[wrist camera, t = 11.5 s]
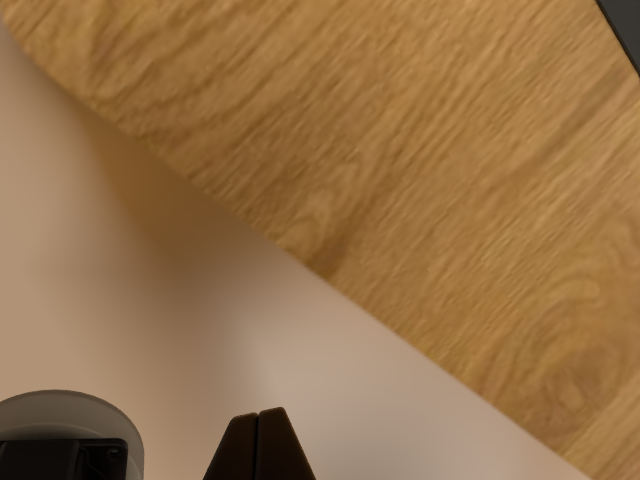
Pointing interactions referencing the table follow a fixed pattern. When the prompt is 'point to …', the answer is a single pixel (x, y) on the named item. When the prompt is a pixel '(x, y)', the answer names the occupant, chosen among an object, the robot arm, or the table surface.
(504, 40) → the table surface
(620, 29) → the felt pad
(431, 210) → the table surface
